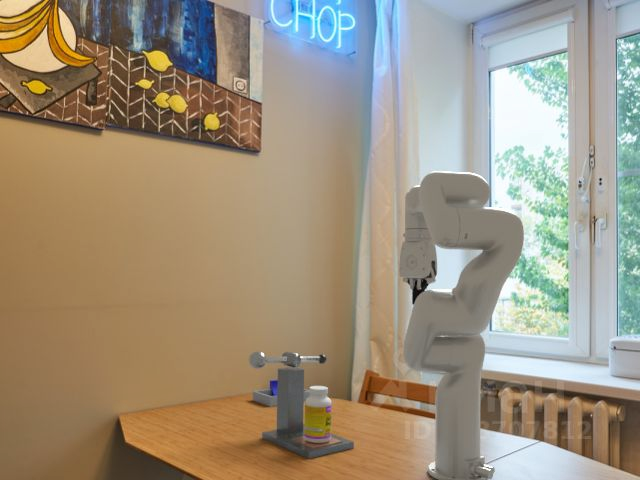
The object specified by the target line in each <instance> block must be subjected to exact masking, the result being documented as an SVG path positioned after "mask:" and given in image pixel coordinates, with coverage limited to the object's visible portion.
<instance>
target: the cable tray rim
mask: <svg viewBox="0 0 640 480" xmlns="http://www.w3.org/2000/svg"><path fill="white" fill-rule="evenodd" d="M308 397H310V392H309V389H306V388H304V402H305V400H306V399H307V398H308ZM252 401H253V402H256V403H258V404H262V405H264V406H268V407H270V408H271V407H277V396H272V389H270V388H267V389H266V388H265V389H260V390H253V391H252Z"/></svg>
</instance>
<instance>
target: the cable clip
mask: <svg viewBox="0 0 640 480" xmlns="http://www.w3.org/2000/svg"><path fill="white" fill-rule="evenodd" d="M269 389H272V396H277V389H278V379H273V380H269Z"/></svg>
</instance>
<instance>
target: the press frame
mask: <svg viewBox="0 0 640 480" xmlns="http://www.w3.org/2000/svg"><path fill="white" fill-rule="evenodd" d="M277 380H278V389H277V406H276V429H273V430H272V429H271V430H268V431H262V432H261V438H262V439H263V440H265V441H267V442H270V443H272V444H274V445H276V446H279V447H280V448H283V449H285V450H287V451H290V452H292V453H294V454H297V455H299V456H301V457H304V458H305V459H314V458H318V457H319V458H320V457H321V456H326V455H331V454H335V453H339V452H344V451H346V450H351V449H352V450H353V449H354V448H355V442H354V441H352V440H350V439H346V438H344V437H341V436H339V435H337V434H334V433H331V439H330V440H329V441H328V442H325V443H312V442H308V441H306V440H305V438H304V431H305V423H304V409H305V401H304V389H305V368H299V367H291V366H287V367H279V368H277Z"/></svg>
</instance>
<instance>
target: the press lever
mask: <svg viewBox="0 0 640 480" xmlns="http://www.w3.org/2000/svg"><path fill="white" fill-rule="evenodd" d="M327 360H328V359H327V356H326V355H325V354H322V353H321V354H319V355H313V356H311V355H310V356H309V355H308V356H306V355H304V356H302V355H300V354H298V353H295V352H291V351H285V352H284V353H282V355H281V356H266V354H265V353H264V352H262V351H259V350H256V351H253V352H252V353H250V355H249V357H248V363H249V366H251V367H252V368H253V369H255V370H258V369H262V368H263V367H265V365H266V364H283V365H284V366H287V367H296V368H299V366H300V364H302V363H319V364H322V365H323V364H326V362H327Z"/></svg>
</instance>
